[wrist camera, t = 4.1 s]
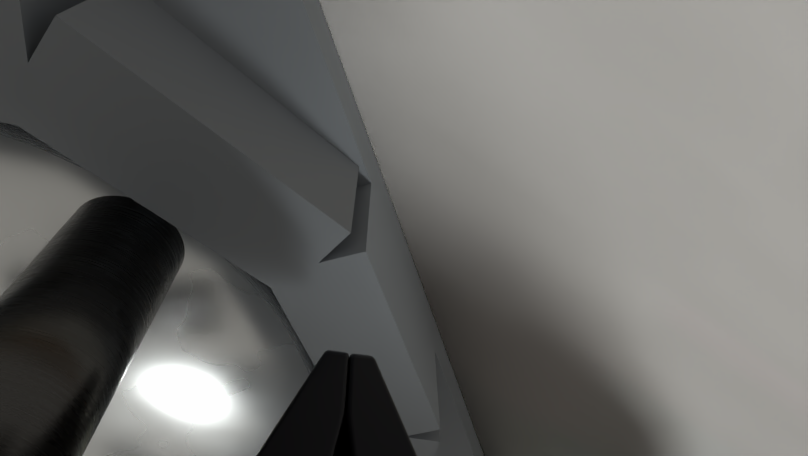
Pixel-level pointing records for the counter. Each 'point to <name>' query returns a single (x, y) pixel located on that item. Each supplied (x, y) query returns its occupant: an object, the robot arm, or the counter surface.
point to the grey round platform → (243, 166)
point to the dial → (127, 325)
